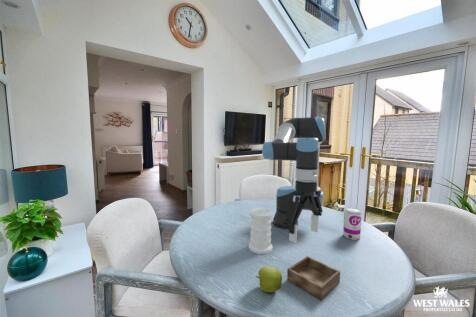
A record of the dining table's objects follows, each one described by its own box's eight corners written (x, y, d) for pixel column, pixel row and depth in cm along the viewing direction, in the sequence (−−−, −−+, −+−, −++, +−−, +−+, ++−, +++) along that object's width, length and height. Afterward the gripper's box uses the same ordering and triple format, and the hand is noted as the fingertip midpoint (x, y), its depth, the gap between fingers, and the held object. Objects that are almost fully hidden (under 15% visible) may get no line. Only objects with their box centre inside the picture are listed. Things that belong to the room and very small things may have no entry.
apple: (255, 281, 81) (255, 261, 80) (279, 282, 81) (280, 262, 80) (256, 297, 74) (256, 275, 73) (283, 297, 73) (283, 275, 72)
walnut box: (287, 280, 82) (287, 268, 82) (307, 266, 91) (307, 256, 91) (320, 300, 72) (321, 287, 72) (339, 282, 81) (340, 271, 80)
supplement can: (362, 241, 113) (364, 213, 112) (345, 239, 115) (346, 212, 113) (357, 234, 121) (358, 208, 119) (341, 232, 123) (342, 207, 121)
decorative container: (274, 244, 110) (275, 209, 108) (270, 256, 99) (270, 217, 97) (252, 240, 114) (252, 207, 112) (245, 251, 103) (245, 214, 101)
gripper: (293, 186, 68) (291, 251, 70) (333, 177, 84) (330, 230, 86) (275, 182, 74) (274, 242, 76) (315, 175, 90) (313, 224, 92)
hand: (304, 236), depth 81 cm, fingers open, 13 cm apart
